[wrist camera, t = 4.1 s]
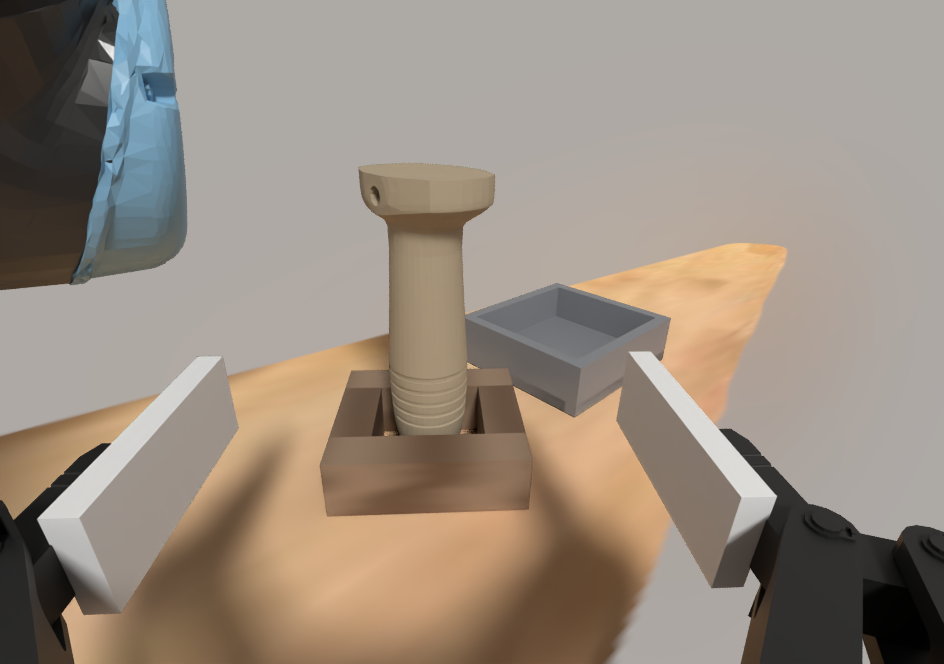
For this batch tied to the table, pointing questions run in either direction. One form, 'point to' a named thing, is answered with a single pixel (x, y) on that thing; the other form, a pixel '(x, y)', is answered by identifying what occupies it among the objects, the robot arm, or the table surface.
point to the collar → (426, 453)
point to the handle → (426, 285)
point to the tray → (563, 343)
